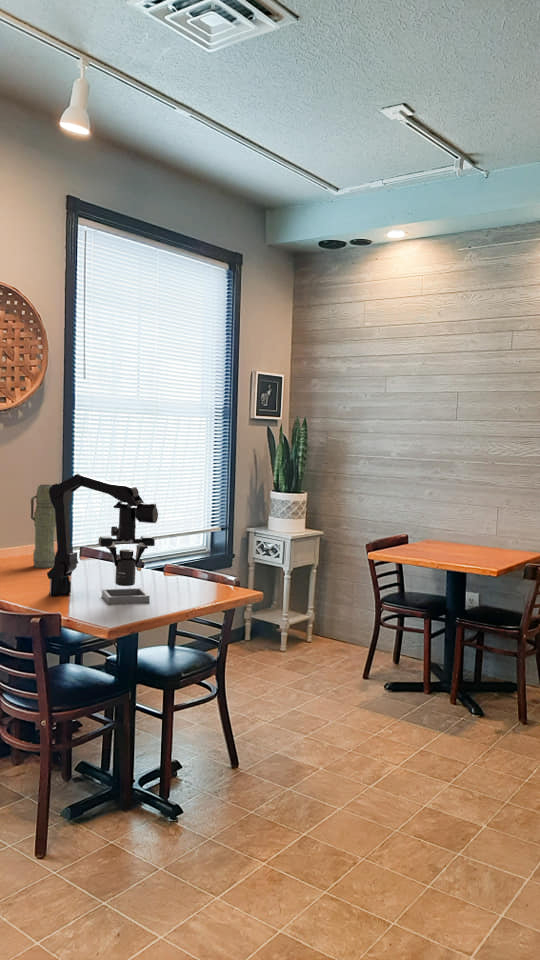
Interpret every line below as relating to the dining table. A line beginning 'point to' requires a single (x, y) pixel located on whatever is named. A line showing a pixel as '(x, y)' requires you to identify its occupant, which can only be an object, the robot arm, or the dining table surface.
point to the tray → (125, 596)
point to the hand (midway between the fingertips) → (125, 565)
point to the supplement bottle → (125, 568)
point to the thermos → (43, 528)
